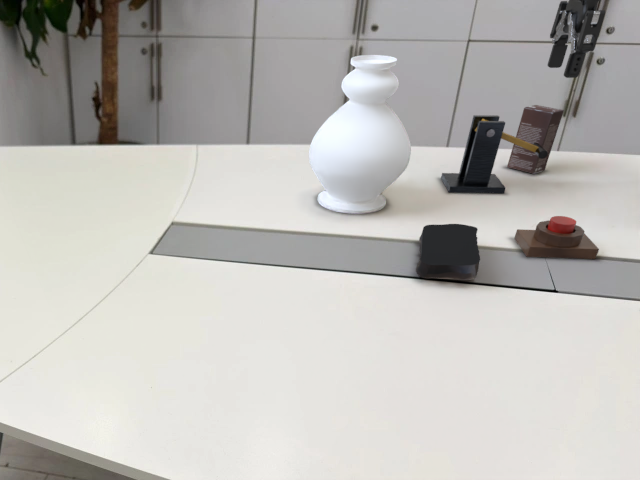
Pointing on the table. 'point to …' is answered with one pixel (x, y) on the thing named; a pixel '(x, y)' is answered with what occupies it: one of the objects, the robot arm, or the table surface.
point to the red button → (561, 224)
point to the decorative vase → (361, 140)
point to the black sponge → (448, 252)
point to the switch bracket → (478, 159)
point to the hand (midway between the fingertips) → (561, 72)
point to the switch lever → (524, 144)
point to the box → (535, 137)
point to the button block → (555, 243)
